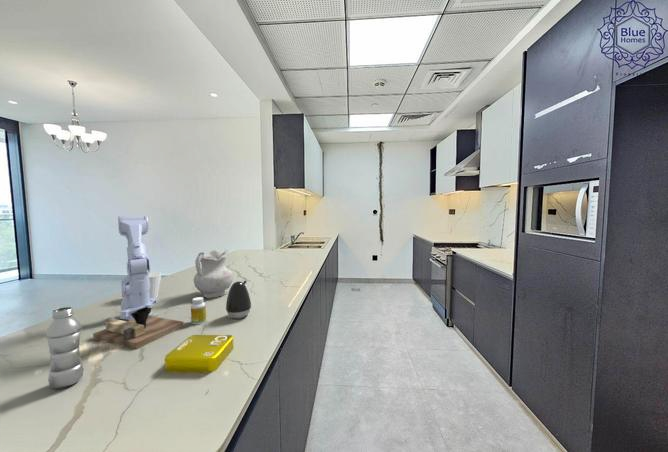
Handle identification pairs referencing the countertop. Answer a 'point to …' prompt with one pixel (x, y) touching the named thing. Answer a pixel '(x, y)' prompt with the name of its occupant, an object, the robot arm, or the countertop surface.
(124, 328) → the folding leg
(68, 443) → the countertop surface
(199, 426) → the countertop surface
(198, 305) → the supplement bottle
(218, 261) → the ceramic pitcher
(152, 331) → the wooden board
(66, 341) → the plastic bottle
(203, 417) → the countertop surface
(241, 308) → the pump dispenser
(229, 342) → the element tile
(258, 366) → the countertop surface
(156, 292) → the cup
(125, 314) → the robot arm
